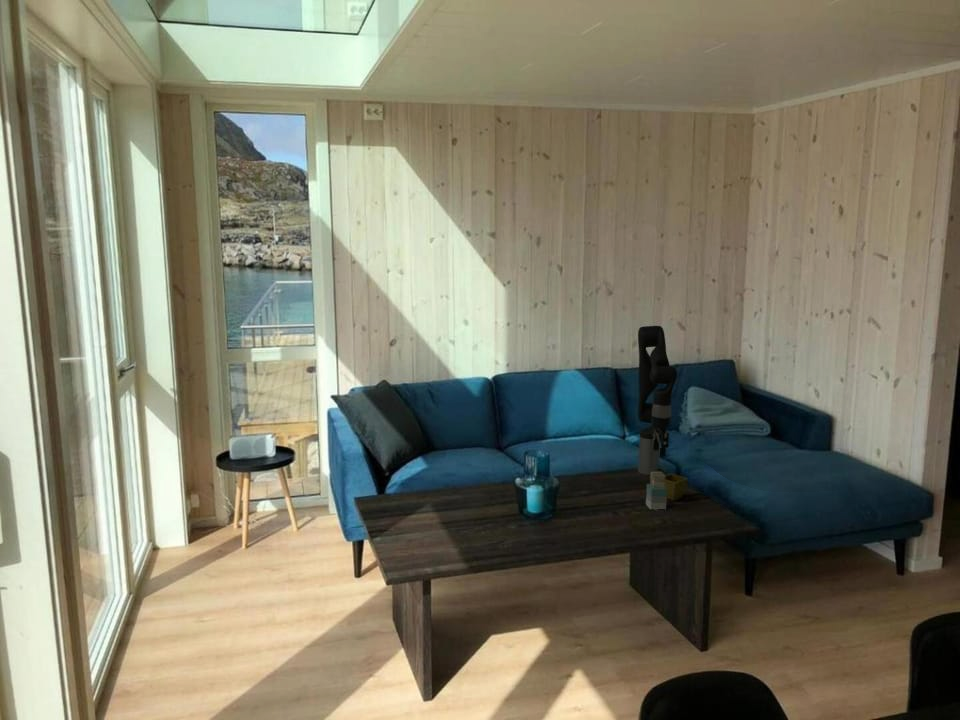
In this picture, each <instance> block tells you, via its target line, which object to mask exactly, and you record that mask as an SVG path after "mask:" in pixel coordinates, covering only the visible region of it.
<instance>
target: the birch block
mask: <svg viewBox="0 0 960 720" xmlns="http://www.w3.org/2000/svg"><path fill="white" fill-rule="evenodd" d="M665 476H666V474H665V473H664V472H662V471H658V472H651V475H650V482H649V484H650V485H651V486H652V487H653V488H665Z"/></svg>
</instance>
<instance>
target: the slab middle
mask: <svg viewBox="0 0 960 720" xmlns="http://www.w3.org/2000/svg"><path fill="white" fill-rule="evenodd" d="M646 498H647V499H648V500H649V501H650V502H651V503H666V504H667V503H668V502H667V500H668V498H667V496H651V495H650V494H649V493H648V492H647V491H646V497H645V499H646Z"/></svg>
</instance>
